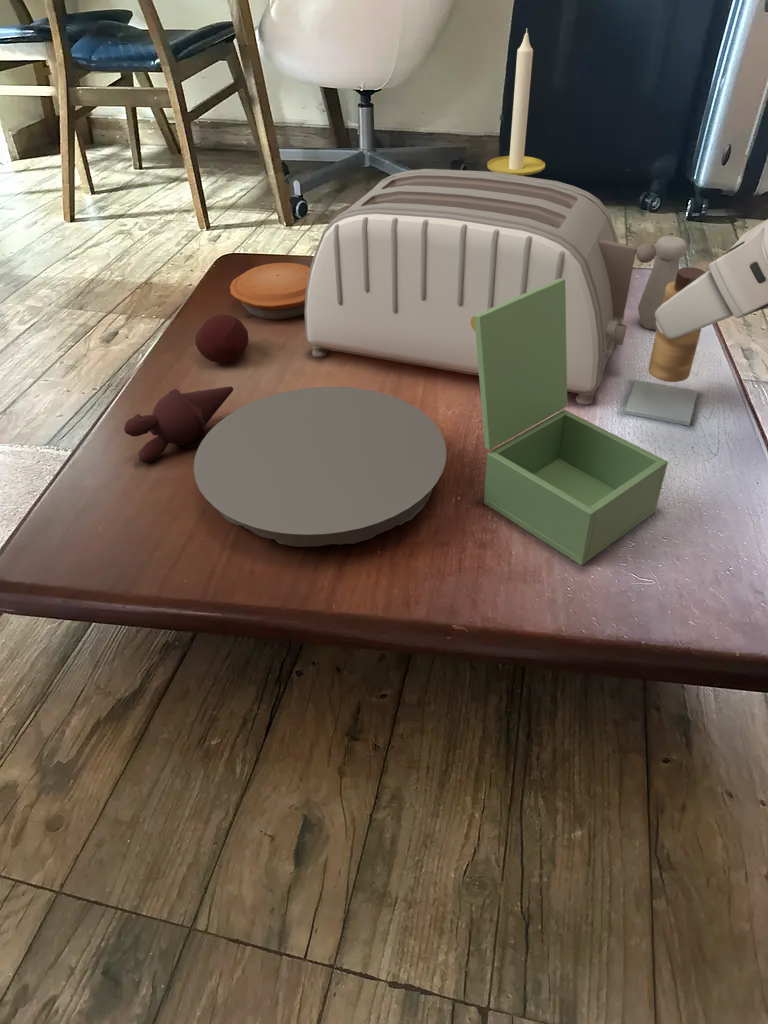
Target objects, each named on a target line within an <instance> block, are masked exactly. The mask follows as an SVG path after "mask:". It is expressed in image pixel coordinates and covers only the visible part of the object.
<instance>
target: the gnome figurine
mask: <svg viewBox="0 0 768 1024" xmlns="http://www.w3.org/2000/svg"><path fill="white" fill-rule="evenodd" d="M233 392H234V387H232V386H224V387H223V386H222V387H217V388H209V389H203V390H196V391H189V392H184V393H183V392H182V393H181V392H180V390H178V389H177V388H173V389H172V390H169V391H168V393H167V394H165V395H163V396H162V397H161V398H159V399H158V401H157V403H156V404H155V406H154V408H153V412H152V414H145V415H141V414H140V413H138V414H135V415H134V416H133V417H131V418H129V419H128V420H127V421H126V422H125V424H124V427H123V431H124V433H125V434H126V435H128V436H131V437H139V436H142V435H146V434H148V433H149V432H150V433H151V435H153V436H156V437H154V438H152V439H151V440H149V441H147V442H146V443H145V444H144V445H143V447H141V448H140V450H139V451H138V452H139V453H138V460H139V461H140V462H142V463H143V464H144V463H145V464H146V463H151V462H153V461H155V460H157V459H158V458H159V457H160V456H161V455H162V454H163V453H164V452H165V450H166V449H167V447H168V446H169V444H171V445H174V446H175V445H176V446H187V445H190V444H191V443H194V442H195V441H197V440H198V439H204V438H205V436H206V435H207V432H206V428H205V426H206V425H207V424H208V423H209V422H210V420H211V419H212V418H213V416H214V415H215V414H216V413H217V411H218V410H219V409H220V408H221V406H222V405H223V404H224V403H225V401H226V400H227V399H228V397H230V395H231V394H232V393H233Z"/></svg>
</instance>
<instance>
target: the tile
mask: <svg viewBox="0 0 768 1024" xmlns="http://www.w3.org/2000/svg"><path fill="white" fill-rule="evenodd" d="M698 392H699V391H698V390H693V389H689V388H683V387H677V386H672V385H666V384H660V383H656V382H649V381H645V380H644V381H643V380H638V379H636V380H635V381H634V384H633V386H632V389H631V391H630V394H629V396H628V400H627V403H626V405H625V408H624V412H623V414H625V415H629V416H636V417H639V418H640V417H641V418H645V419H651V420H655V421H662V422H666V423H672V424H677V425H681V426H687V427H690V425H691V421H692V417H693V413H694V408H695V405H696V400H697V397H698V394H699V393H698Z"/></svg>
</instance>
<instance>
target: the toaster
mask: <svg viewBox="0 0 768 1024" xmlns="http://www.w3.org/2000/svg"><path fill="white" fill-rule="evenodd" d="M655 257H656V249H655V245H654V244H652V243H650V242H643V243H642V244H640V245H639V247H636V246H633V245H627V244H624V243H621V242H619V239H618V235H617V233H616V229H615V226H614V223H613V220H612V216H611V213H610V211H609V210H608V209H607V207H606V206H605V205H604V204H603V202H602V201H601V200H600V199H599V198H597V196H595V195H593V194H592V193H590V192H589V191H587V190H584V189H582V188H579V187H577V186H575V185H571V184H567V183H565V182H561V181H558V180H551V179H545V178H537V177H532V176H531V177H530V176H526V175H524V176H518V175H510V174H503V173H496V172H493V171H483V170H462V169H443V168H441V169H439V168H420V169H419V168H418V169H409V170H406V171H402V172H401V171H400V172H397V173H393V174H391V175H389V176H387V177H385V178H383V179H381V180H380V181H379V182H378V183H377V184H376V185H375V186H374V187H373V188H372V189H371V190H369V191H368V192H367V193H365V195H363V196H362V197H361V198H360V199H358V200H357V201H356V202H354V203H353V204H352V205H351V206H349V207H348V208H347V209H346V210H344V211H343V212H340V213H338V214H337V215H336V216H335V217H334V218H333V219H332V220H331V221H330V222H329V223H328V224H327V225H326V226H325V228H324V229H323V231H322V234H321V236H320V238H319V241H318V243H317V246H316V249H315V252H314V254H313V257H312V261H311V264H310V271H309V276H308V282H307V288H306V297H305V314H304V332H305V338H306V340H307V342H308V344H309V345H310V346H311V347H312V348H313V349H312V351H311V353H312V356H313V357H315V358H323V357H326V356H327V355H328V350H330V351H335V352H340V353H347V354H351V355H359V356H363V357H370V358H375V359H380V360H386V361H392V362H398V363H404V364H408V365H409V364H410V365H415V366H421V367H427V368H432V369H438V370H442V371H443V370H444V371H450V372H455V373H461V374H467V375H473V376H477V377H479V369H478V356H477V343H476V332H475V331H474V330H473V329H472V326H471V318H472V317H473V316H475V315H477V314H479V313H481V312H484V311H486V310H488V309H490V308H493V307H495V306H497V305H500V304H502V303H504V302H506V301H509V300H511V299H513V298H516V297H518V296H520V295H522V294H525V293H527V292H529V291H532V290H534V289H536V288H538V287H541V286H543V285H545V284H548V283H550V282H552V281H554V280H557V279H559V278H561V279H565V292H566V359H567V392H570V393H576V394H577V395H576V396H575V402H576V403H578V404H580V405H584V406H585V405H586V406H588V405H591V404H592V403H593V402H594V397H593V395H594V393H595V391H596V390H597V389H599V388H598V387H600V385H601V383H602V380H603V377H604V371H605V369H606V365H607V362H608V360H609V358H610V357H611V356H612V352H613V349H614V347H615V346H620V347H621V346H623V344H624V341H625V338H626V333H627V329H628V326H627V325H626V324H623V322H624V318H625V313H626V312H625V311H626V307H627V306H626V305H627V302H628V296H629V290H630V283H631V278H632V273H633V267H634V264H635V258H636V259H637V260H638V261H639V263H643V264H647V263H650V262H652V261H653V260H654V259H655Z"/></svg>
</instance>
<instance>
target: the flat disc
mask: <svg viewBox="0 0 768 1024" xmlns="http://www.w3.org/2000/svg"><path fill="white" fill-rule="evenodd" d="M446 462H447V446H446V441H445V438H444V436H443V433H442V432H441V430H440V429H439V427H438V425H437V424H436V423H435V422H434V421H433V420H432V419H431V417H430V416H428V415H427V414H426V413H425V412H423V411H422V410H421V409H419V408H418V407H417V406H415V405H413V404H412V403H409V402H407V401H406V400H403V399H401V398H398V397H395V396H393V395H391V394H387V393H383V392H380V391H375V390H370V389H366V388H365V389H364V388H359V387H351V386H349V387H348V386H316V387H306V388H298V389H292V390H287V391H284V392H279V393H275V394H272V395H268V396H266V397H262V398H260V399H257V400H255V401H253V402H250V403H247V404H245V405H243V406H242V407H239V408H238V409H235V410H234V411H233V412H231V413H229V414H228V415H226V416H225V417H223V418H222V419H221V420H220V421H218V422H217V423H216V424H215V425H214V426H213V427H212V428H211V429H210V430H209V431H208V432H207V433H206V436H205V437H204V438H202V440H201V442H200V444H199V445H198V447H197V450H196V453H195V456H194V460H193V475H194V480H195V483H196V485H197V487H198V490H199V491H200V493H201V495H203V497H204V498H205V500H206V501H207V502H208V503H210V504H211V505H212V507H214V508H215V510H217V511H218V513H219V514H220V515H221V516H222V517H223V518H224V520H226V521H227V522H229V523H231V524H234V525H236V526H242V527H243V528H245V529H247V530H249V531H250V532H252V533H253V534H256V535H257V536H259V537H260V538H265V539H273V540H274V541H276V543H278V544H281V545H287V546H289V547H296V548H297V547H299V548H300V547H302V548H303V547H308V548H310V547H322V546H330V545H339V546H340V545H344V544H350V545H353V544H356V543H359V542H362V541H368V540H370V539H372V538H374V537H375V536H376V535H380V534H382V533H385V532H387V531H389V530H391V529H393V528H395V527H396V526H397V525H398V526H401V525H403V524H404V523H405V522H409V521H411V520H413V518H414V517H415V516H416V515H417V514H418V513H420V512H421V511H422V510H423V509H424V507H425V506H426V504H427V503H428V501H429V499H430V497H431V494H432V492H433V488H434V486H436V484H437V483H438V482H439V480H440V478H441V476H442V474H443V473H444V469H445V466H446Z"/></svg>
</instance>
